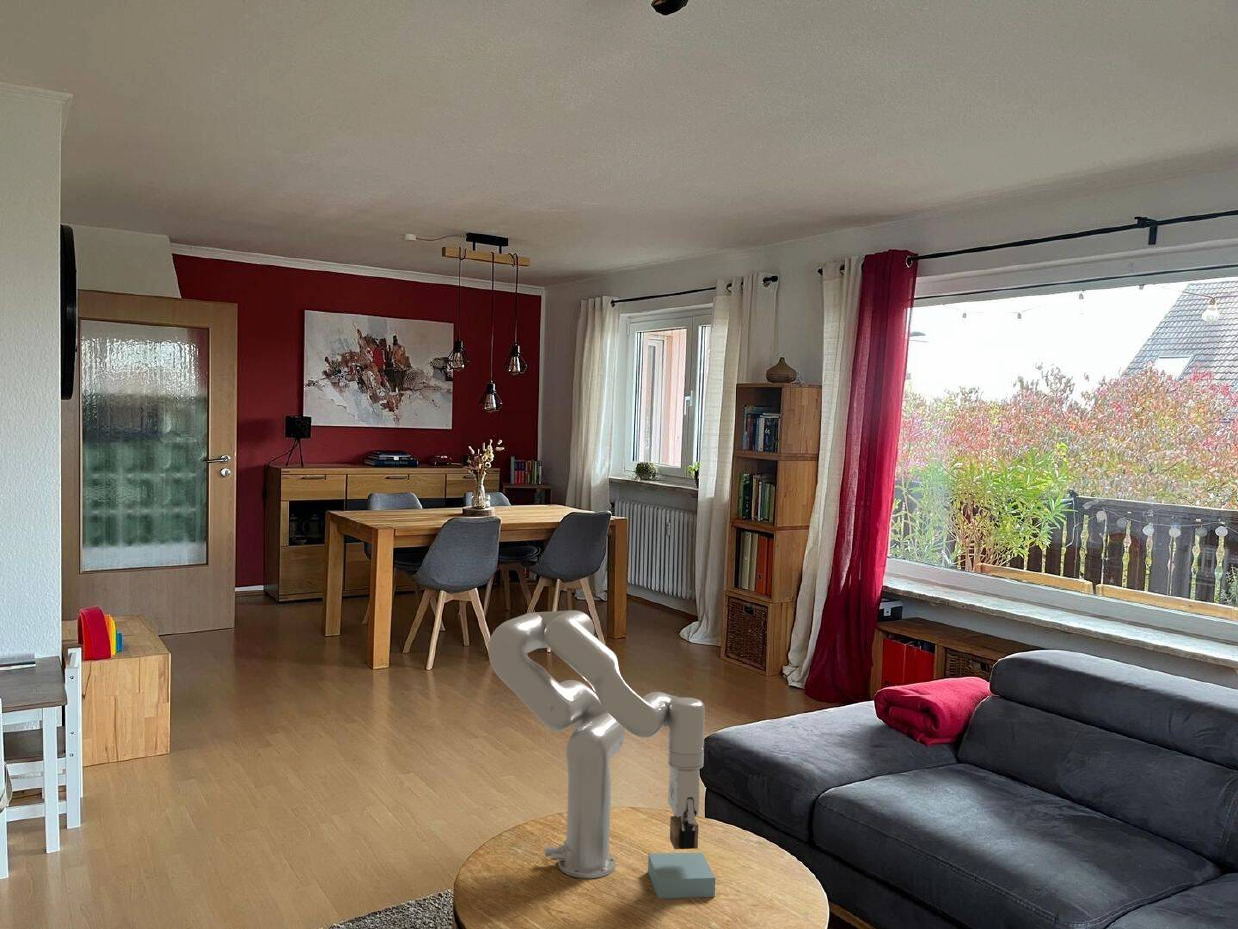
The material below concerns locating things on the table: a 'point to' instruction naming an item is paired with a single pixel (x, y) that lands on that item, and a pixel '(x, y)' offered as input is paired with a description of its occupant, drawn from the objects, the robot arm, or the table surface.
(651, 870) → the plinth block
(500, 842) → the table surface
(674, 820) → the walnut cube
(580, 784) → the robot arm
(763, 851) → the table surface
